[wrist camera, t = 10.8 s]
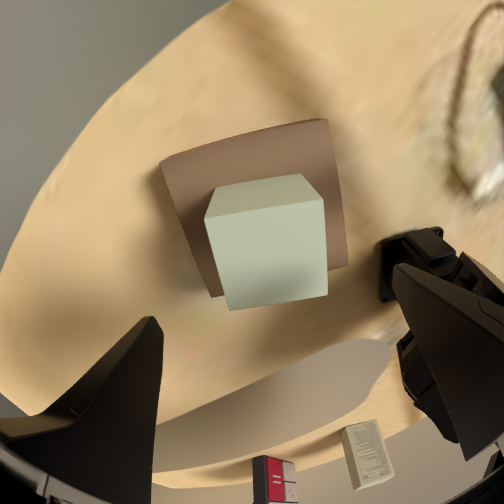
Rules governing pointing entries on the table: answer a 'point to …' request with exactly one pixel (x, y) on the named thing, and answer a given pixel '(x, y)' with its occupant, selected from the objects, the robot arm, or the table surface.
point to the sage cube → (268, 241)
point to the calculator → (274, 481)
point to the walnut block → (249, 169)
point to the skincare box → (366, 455)
